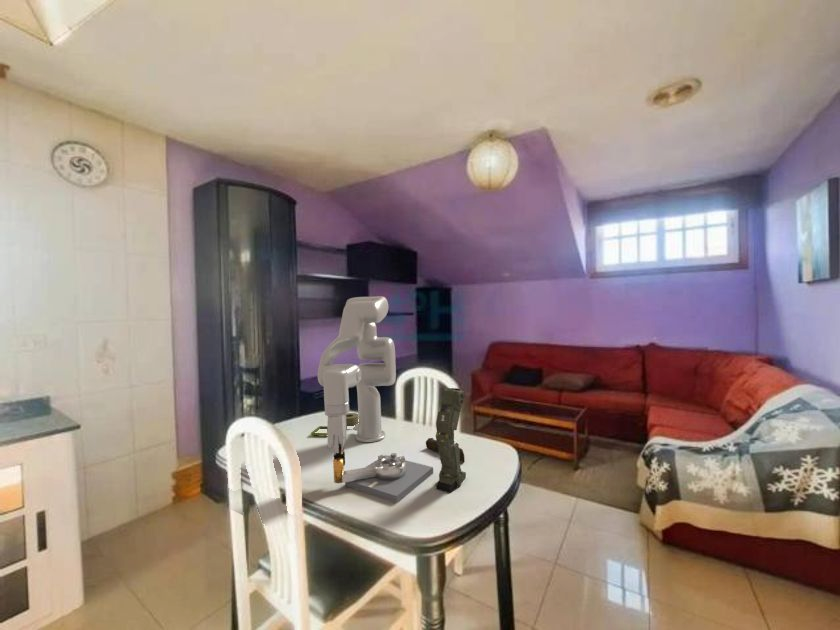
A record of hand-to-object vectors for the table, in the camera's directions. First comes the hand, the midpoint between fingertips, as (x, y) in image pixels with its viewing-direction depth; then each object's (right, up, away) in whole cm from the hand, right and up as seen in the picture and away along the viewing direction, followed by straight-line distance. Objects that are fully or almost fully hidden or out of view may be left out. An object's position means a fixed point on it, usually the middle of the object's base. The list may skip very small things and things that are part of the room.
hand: (339, 465), depth 111 cm
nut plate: (+16, -5, +1) cm, 17 cm away
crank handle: (+10, -3, -1) cm, 10 cm away
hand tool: (+35, -4, +18) cm, 40 cm away
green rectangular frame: (-17, -6, +45) cm, 49 cm away
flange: (-8, -5, +56) cm, 57 cm away
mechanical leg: (+35, -5, -2) cm, 36 cm away
